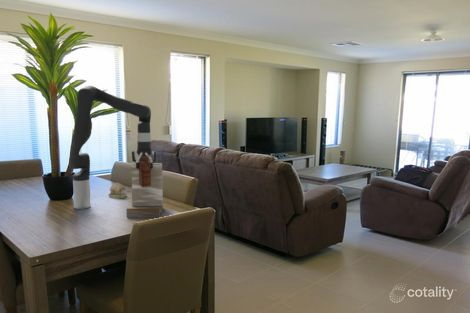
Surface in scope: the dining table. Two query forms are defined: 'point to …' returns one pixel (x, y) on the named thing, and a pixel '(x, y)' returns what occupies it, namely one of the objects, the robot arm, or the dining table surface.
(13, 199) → the dining table surface
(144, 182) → the wooden figurine
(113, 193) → the ceramic model
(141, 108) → the robot arm
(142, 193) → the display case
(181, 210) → the dining table surface
